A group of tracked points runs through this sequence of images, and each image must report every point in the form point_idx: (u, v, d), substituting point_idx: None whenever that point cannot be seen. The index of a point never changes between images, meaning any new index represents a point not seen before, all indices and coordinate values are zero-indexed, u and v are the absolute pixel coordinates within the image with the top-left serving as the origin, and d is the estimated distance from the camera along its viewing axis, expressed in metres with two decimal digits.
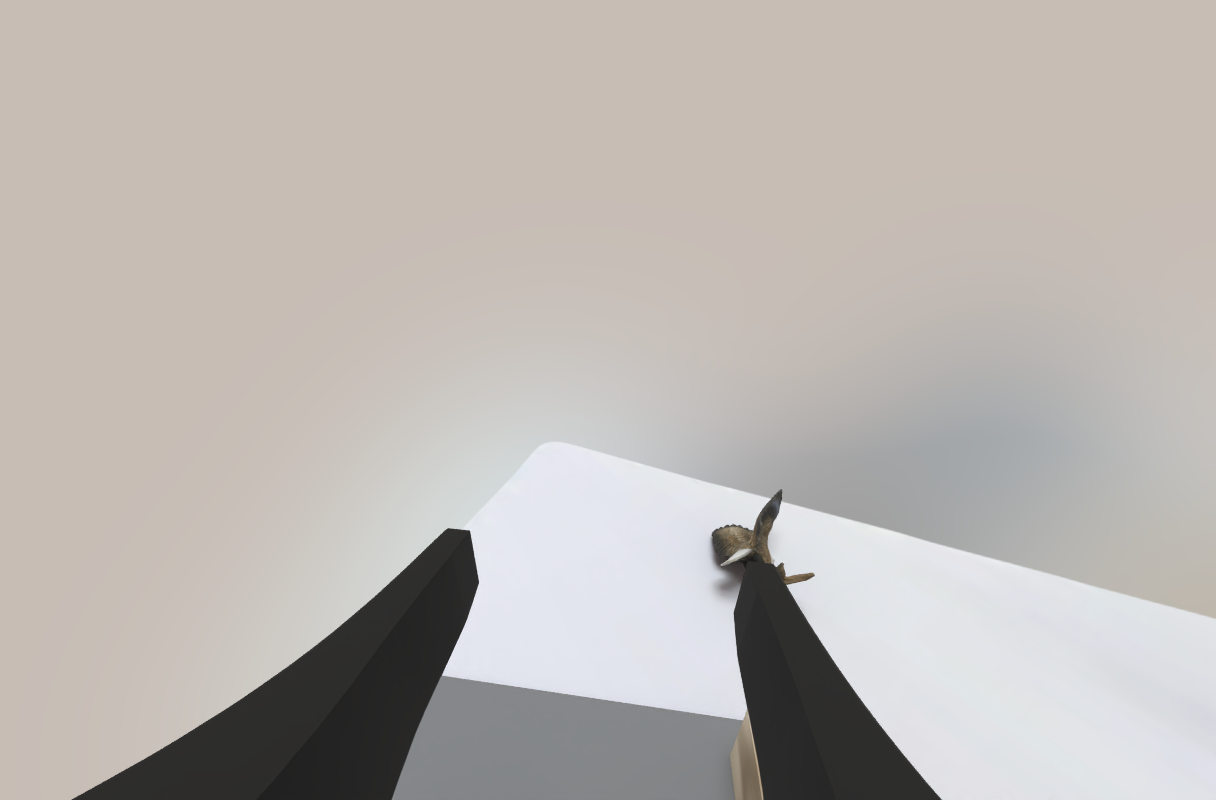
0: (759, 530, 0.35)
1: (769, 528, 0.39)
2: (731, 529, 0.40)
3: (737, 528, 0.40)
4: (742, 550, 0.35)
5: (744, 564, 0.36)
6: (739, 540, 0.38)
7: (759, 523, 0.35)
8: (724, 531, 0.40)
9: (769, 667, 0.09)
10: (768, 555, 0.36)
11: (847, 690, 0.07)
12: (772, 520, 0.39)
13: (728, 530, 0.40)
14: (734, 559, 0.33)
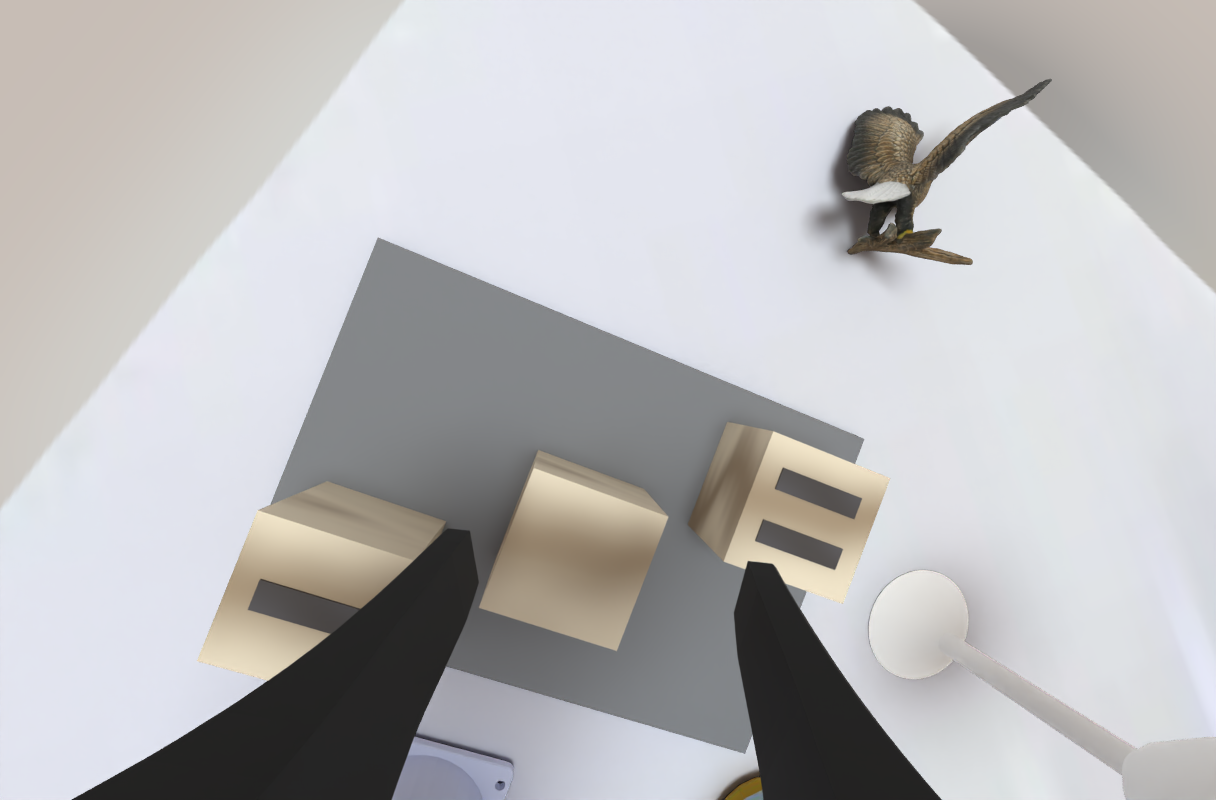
0: (948, 161, 0.19)
1: None
2: (895, 126, 0.23)
3: (905, 127, 0.23)
4: (893, 184, 0.21)
5: None
6: (896, 156, 0.22)
7: (959, 147, 0.19)
8: (881, 125, 0.23)
9: (769, 667, 0.09)
10: (922, 199, 0.22)
11: (847, 690, 0.07)
12: (976, 134, 0.22)
13: (889, 126, 0.23)
14: (872, 201, 0.20)
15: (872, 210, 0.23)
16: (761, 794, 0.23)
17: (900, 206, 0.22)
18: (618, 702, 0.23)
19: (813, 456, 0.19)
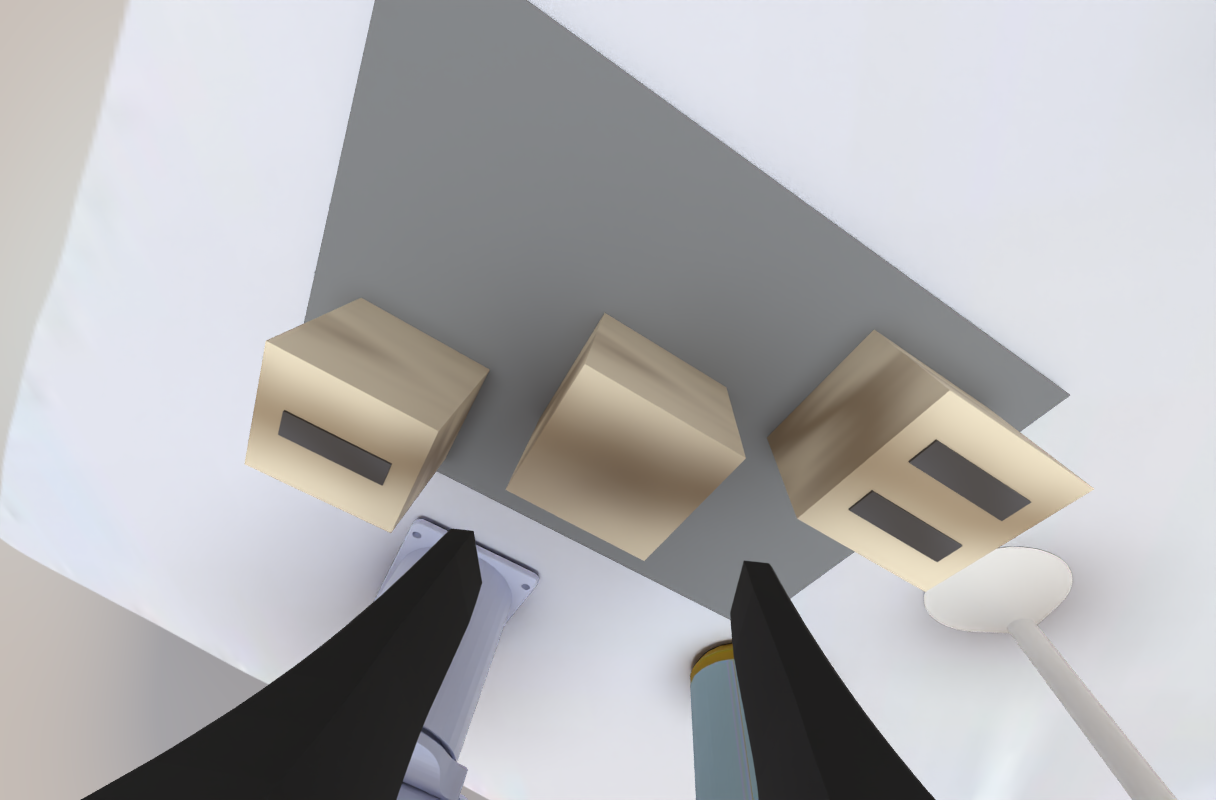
0: None
1: None
2: None
3: None
4: None
5: None
6: None
7: None
8: None
9: (764, 666, 0.09)
10: None
11: (842, 689, 0.07)
12: None
13: None
14: None
15: None
16: None
17: None
18: (640, 563, 0.24)
19: (992, 436, 0.13)
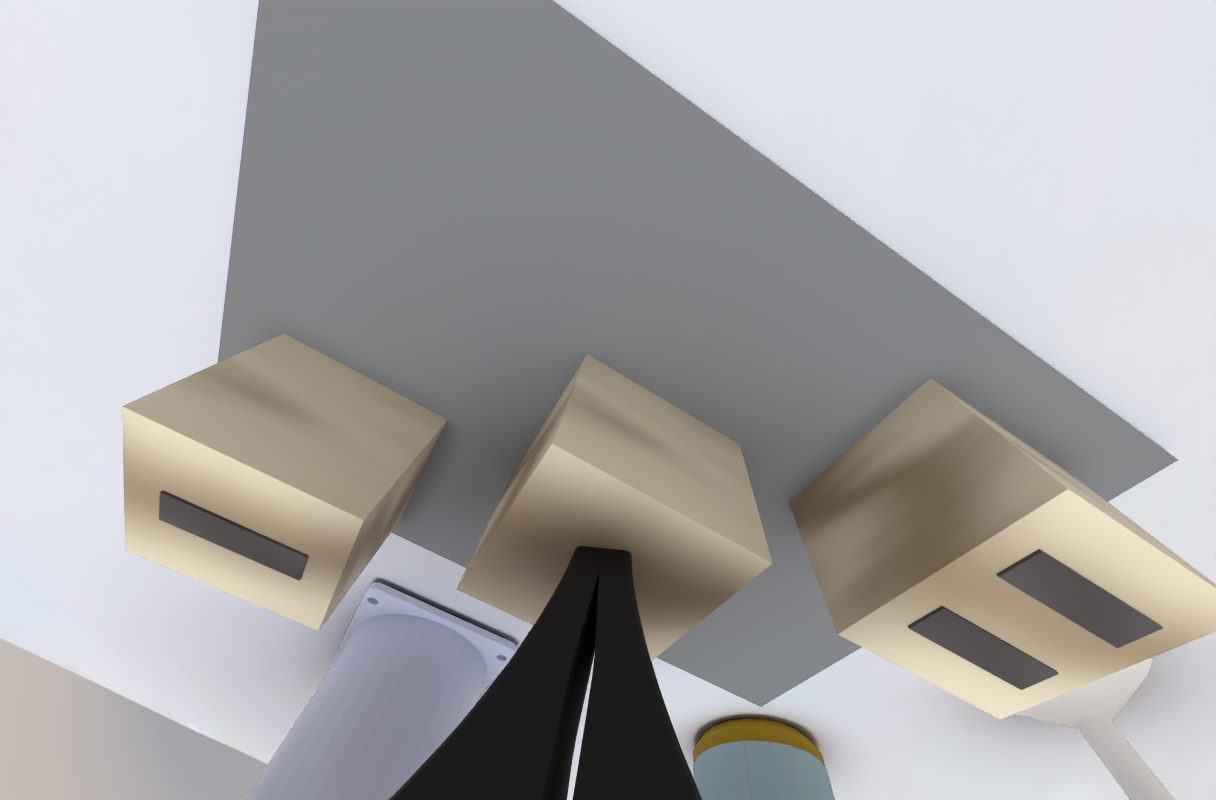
0: None
1: None
2: None
3: None
4: None
5: None
6: None
7: None
8: None
9: None
10: None
11: (642, 664, 0.08)
12: None
13: None
14: None
15: None
16: (765, 745, 0.22)
17: None
18: None
19: (1121, 547, 0.09)
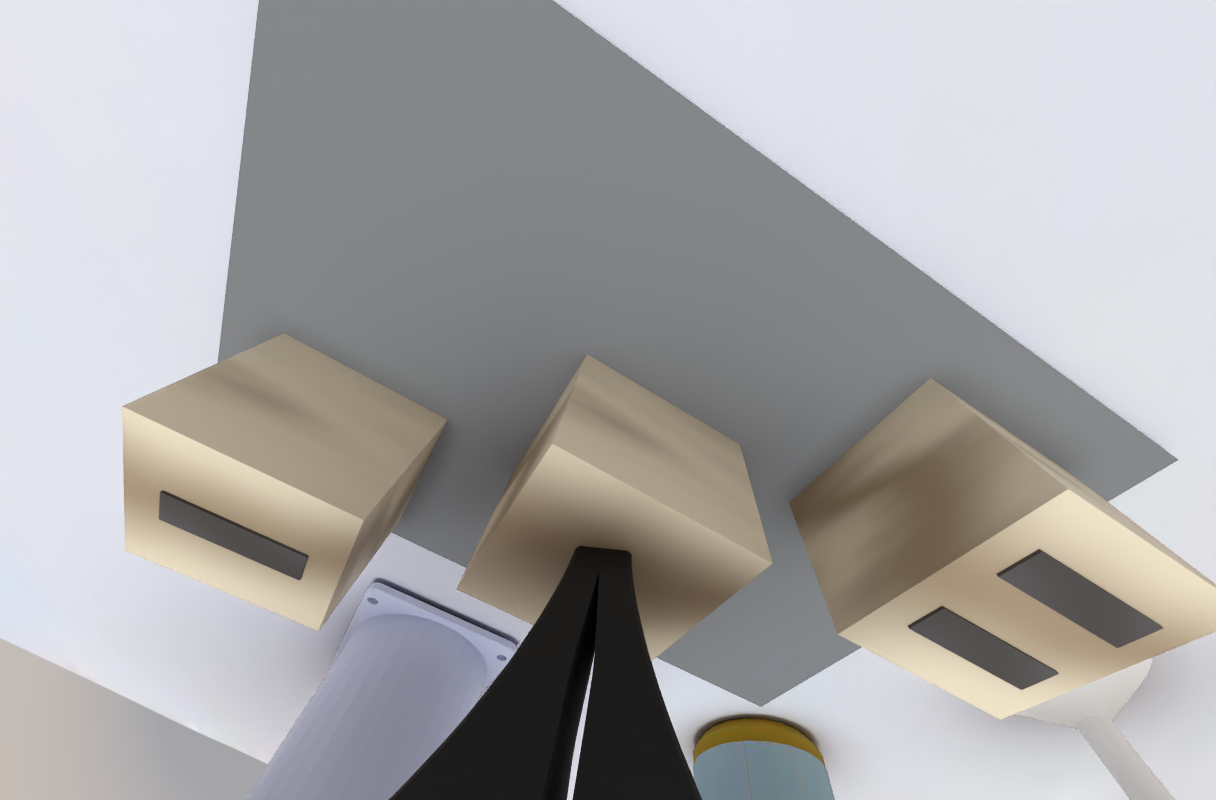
0: None
1: None
2: None
3: None
4: None
5: None
6: None
7: None
8: None
9: None
10: None
11: (642, 663, 0.08)
12: None
13: None
14: None
15: None
16: (765, 745, 0.22)
17: None
18: None
19: (1121, 547, 0.09)
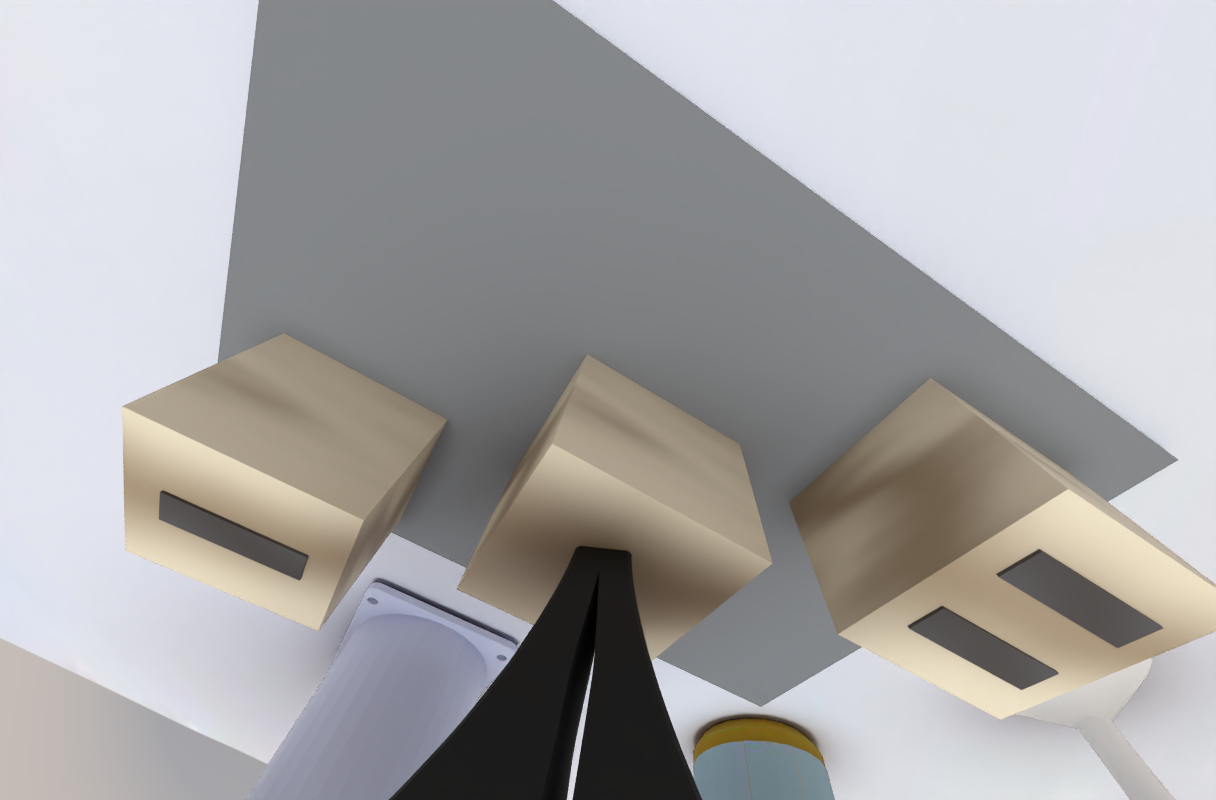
0: None
1: None
2: None
3: None
4: None
5: None
6: None
7: None
8: None
9: None
10: None
11: (642, 663, 0.08)
12: None
13: None
14: None
15: None
16: (765, 745, 0.22)
17: None
18: None
19: (1121, 547, 0.09)
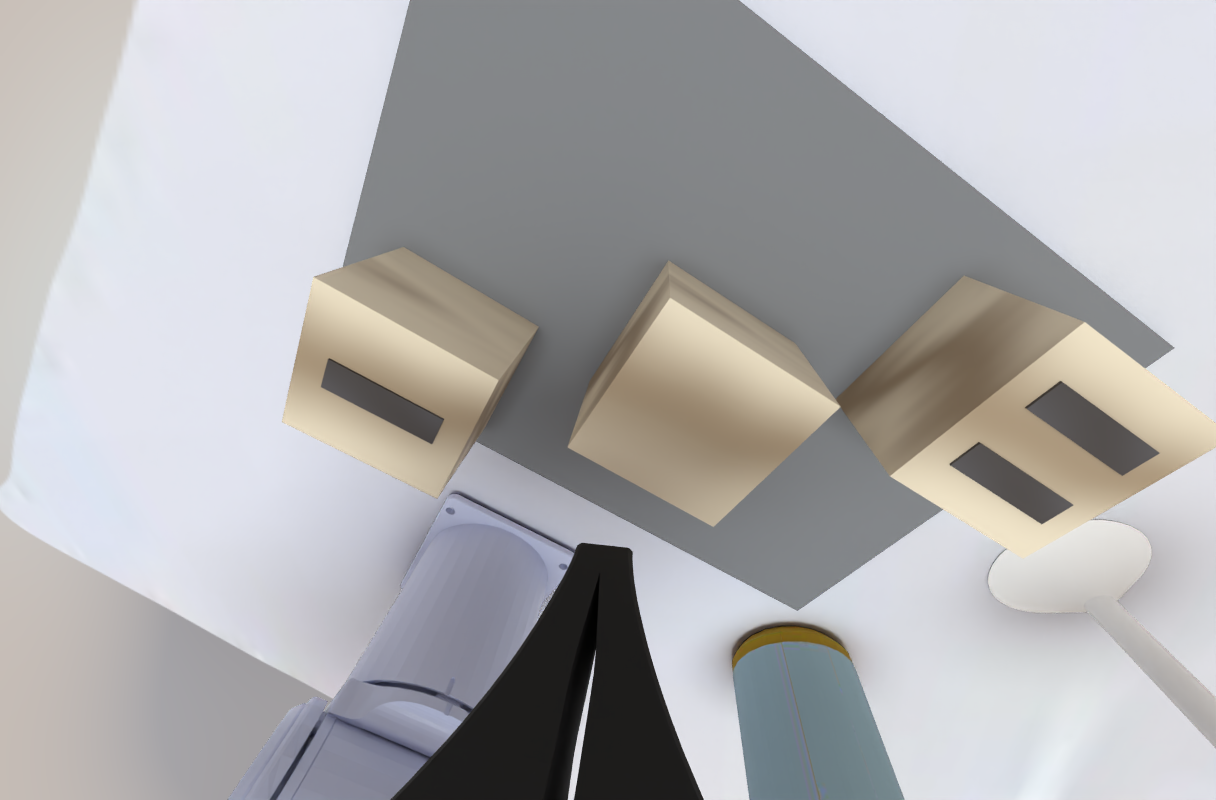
0: None
1: None
2: None
3: None
4: None
5: None
6: None
7: None
8: None
9: None
10: None
11: (643, 663, 0.08)
12: None
13: None
14: None
15: None
16: (801, 644, 0.24)
17: None
18: (687, 540, 0.23)
19: (1126, 376, 0.11)
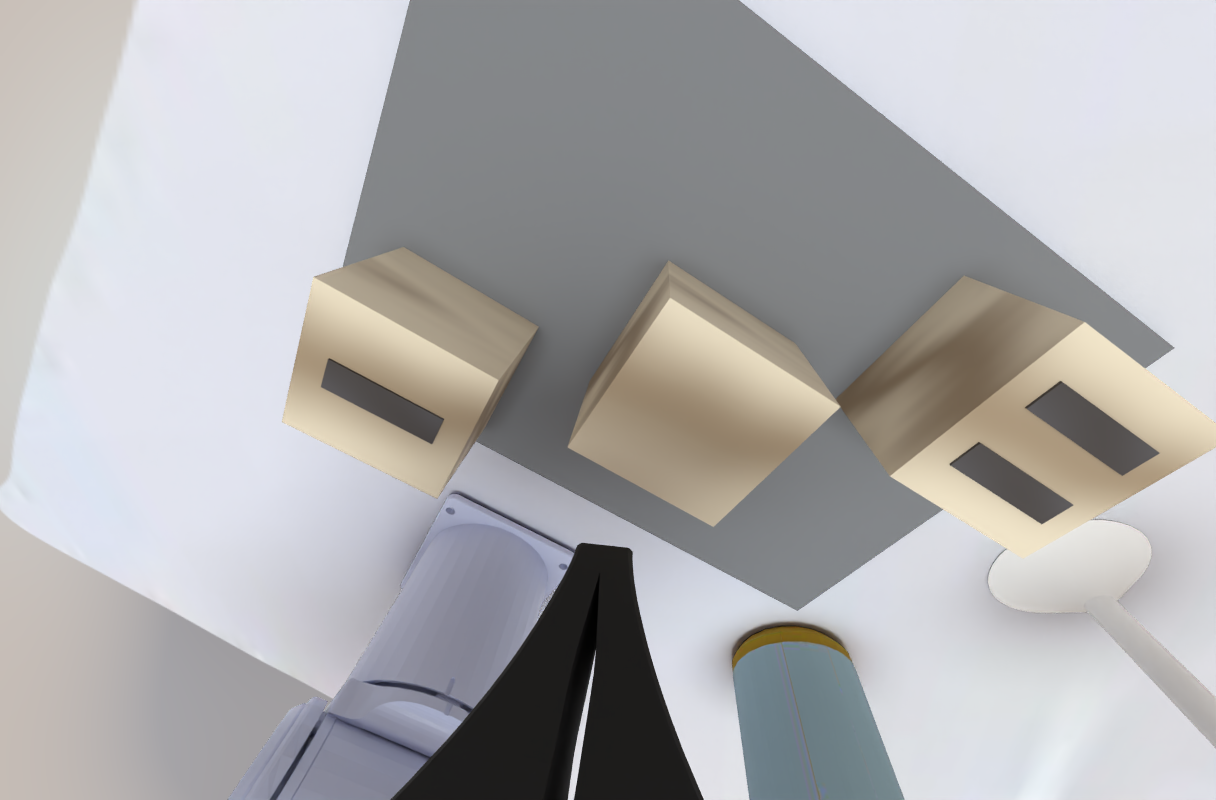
0: None
1: None
2: None
3: None
4: None
5: None
6: None
7: None
8: None
9: None
10: None
11: (643, 663, 0.08)
12: None
13: None
14: None
15: None
16: (801, 644, 0.24)
17: None
18: (687, 540, 0.23)
19: (1126, 376, 0.11)
